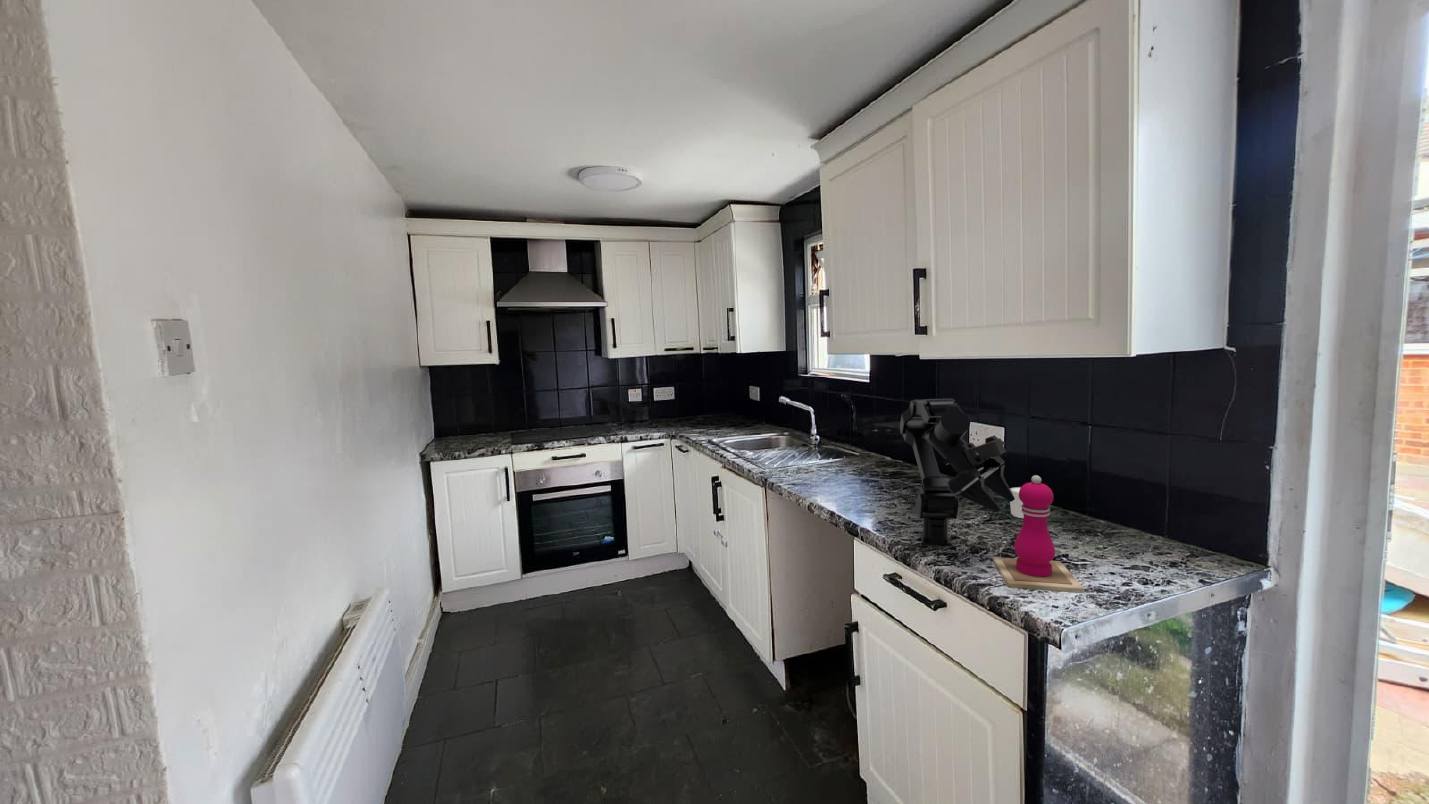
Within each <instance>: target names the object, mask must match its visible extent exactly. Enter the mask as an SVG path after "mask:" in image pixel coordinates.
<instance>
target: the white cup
mask: <svg viewBox="0 0 1429 804" xmlns="http://www.w3.org/2000/svg"><path fill="white" fill-rule="evenodd" d="M1021 487H1022V486H1018V487H1016V486H1015V487H1011V488H1010V487H1009V488H1010V490H1011V492H1012V494H1013V496H1014V498H1015V500H1013V501H1012V502H1010V501H1009V504H1010V505H1009V506H1010V515H1011V514H1012V515H1013V516H1012V515H1011V516H1012V517H1015V518H1019V519H1024V515H1023V513H1022V512H1021V510H1022V507H1021V505H1023V503H1022V501H1021V500H1020V499H1019V490H1020V488H1021Z"/></svg>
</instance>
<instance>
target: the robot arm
mask: <svg viewBox="0 0 1429 804" xmlns="http://www.w3.org/2000/svg"><path fill="white" fill-rule="evenodd" d="M915 415H917V417H915ZM970 426H971V421H970V418H969V417H968V415H967V414H966V413H965V412H964V410H963V409H961V407H960V405H959V404H958V403H957V402H956V400H955V399H954V398H928V399H927V398H926V399H913V400H910V403H909V407H908V408H907V409H906V410H905V411H903V412H902V413H901V417H900V423H899V432H900V434H901V435H902V437H903V439H904V440H903V441H904V442H905V443H907V444H908V445H910V447H912V449H913V453H914V457H915V460H916V463H917V468H918V472H919V475H920V479H921V483H920V490H919V493H918V495H917V497H916V500H915V504H914V509H915V514H916V516H917V517H918V519H922V532H920V533H919V535H920V539H921V542H922V544H923V545H936V546H937V545H938V546H952V541H951V538H950V536H949V519H954V520H956V519H957V517H958V511H959V505H960V499H959V498H958V497H962V498H964V499H967V500H969V501H971V502H974V503H975V504H977V505H980V506H982V507H984V508H985V509H989V510H990V511H992V512H995V513H998V512H1000V511H1001V507H1000V506H999V504H998V503H997V502H996V500H995V498H993V496H992V495H991V494H990V492H989V491H988V489H990V490H991V491H993V492H994V493H996V494H997V495H999V496H1000V497H1002V498H1003V499H1005V500H1007V501H1009V503H1010V502H1012V501H1013V500H1015V498H1014V496H1013V494H1012V492H1011V490H1010V486H1009V484H1008V482H1007V480H1006V478H1005V476H1004V471H1005V470H1004V469H1005V467H1006V466H1005V464H1004V463H1005V462H1006V461H1005V460H1004V459H1003V458H1002V457H1001V456H1002V455H1003V454H1006V453H1007V451H1006V448H1005V445H1006V443H1005V441H1003V440H1002V439H1001V438H998V436H996V435H991V436H989V437H986V438H985V439H984V440H985V441H984V442H985V443H982V444H979V445H975V444H974V443H973V442H970V441H969V442H968V443H967V442H966V441H965V440H964V439H963V437H964V435H965V434H966V433H967V432H968V430H969V428H970ZM933 448H934V449H935V450H936V451H937V452H938V453H939V454H940V455H941V457H942V458H943V459H944V460H943V461H942V463H943V464H944V465H945V466H947V465H950V466H951V468H953V470H954V471H955V472H956V473H957V474H956V475H954V476H953V478H951V479H950V478H949V477H942V476H941V472H940V469H939V466H938V462H937V460H936V456H935V453H934V449H933ZM987 488H988V489H987Z"/></svg>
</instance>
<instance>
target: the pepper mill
mask: <svg viewBox="0 0 1429 804" xmlns="http://www.w3.org/2000/svg"><path fill="white" fill-rule="evenodd" d="M1030 480H1031V482H1026V483H1024V484H1023V485H1022V486H1020V487H1021V488H1020V490H1019V499H1020V500H1021V501H1022V503H1023V505H1021V507H1022V510H1021V512H1022V513H1023V515H1024V518H1023V521H1022V526H1021V528H1020V530H1019V533H1018V534H1017V536H1016V538H1015V541H1014V545H1013V550H1014V552H1015V554H1016V556H1017V557H1018V558H1016V559H1017V560H1016V568H1017V569H1018V570H1019V571H1020V572H1022V573H1024V574H1027V575H1031V576H1036V577H1046V576H1049V575H1051V573H1052V564H1051V563H1050V561H1054V558H1055V557H1056V548H1055V544H1054V541H1053V540H1052V537H1051V536H1050V532H1049V528H1048V517H1049V516H1050V514H1051V513H1050V511H1051V508H1050V507H1049V506H1051V505H1052V503H1053V502H1054V493H1053V492H1054V491H1052V489H1051V488H1050V487H1049V486H1048V485H1046V484H1045V483H1042V478H1041V477H1040V476H1039V475H1037V474H1036V475H1035V474H1034V475H1032V476H1031V479H1030Z"/></svg>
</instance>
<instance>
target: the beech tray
mask: <svg viewBox="0 0 1429 804" xmlns="http://www.w3.org/2000/svg"><path fill="white" fill-rule="evenodd" d="M1017 559H1018V558H1012V557H999V556H997V557H995V556H993V557H992V562H993V564H994V565H995V568H996V569H997V570H998V572H999V574H1000V575H1001V577H1002V579H1003V580H1004V583H1005V584H1006V586H1007V587H1008V588H1013V589H1014V588H1016V589H1026V590H1027V589H1028V590H1038V591H1039V590H1041V591H1055V592H1068V593H1082V594H1085V588H1084V587H1083V585H1081V583H1080V582H1079V581H1078V580H1077V579H1076V578H1075V576H1074V575H1073V574H1072V572H1070V571H1069V570H1068V568H1067V567H1066V566H1065V565H1064V564H1063V563H1062V562H1061V561H1060V560H1051V561H1050V563H1051V564H1052V573H1051V575H1049V576H1046V577H1036V576H1031V575H1027V574H1024V573H1022V572H1020V571H1019V570H1018V569H1017V568H1016V560H1017Z"/></svg>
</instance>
